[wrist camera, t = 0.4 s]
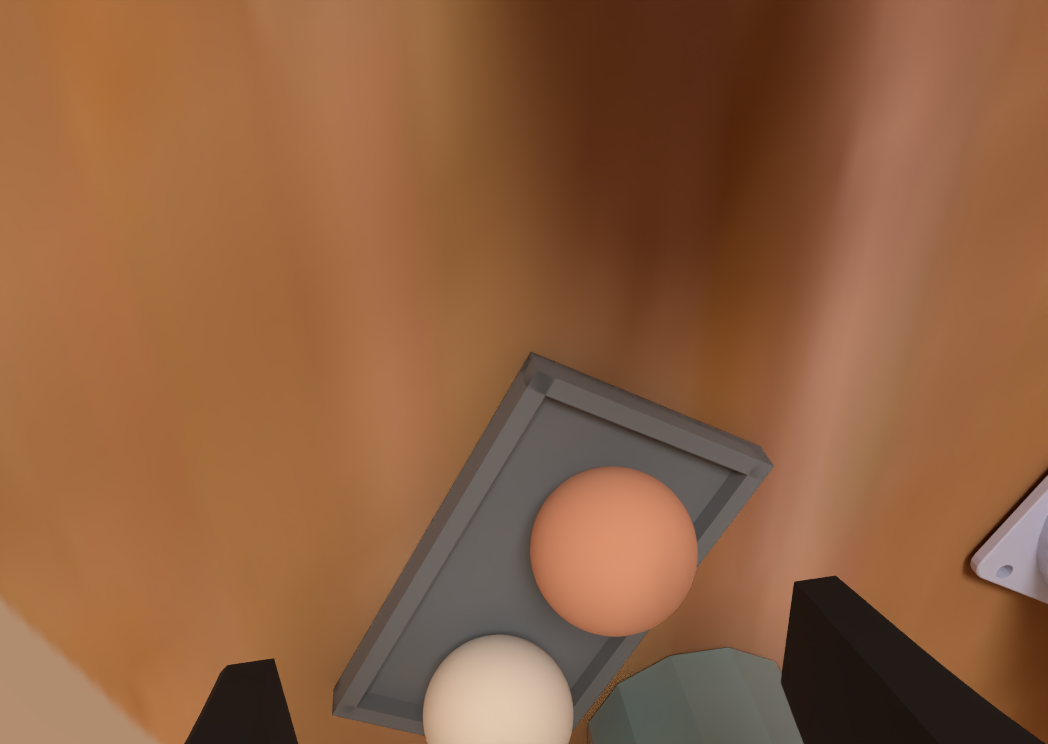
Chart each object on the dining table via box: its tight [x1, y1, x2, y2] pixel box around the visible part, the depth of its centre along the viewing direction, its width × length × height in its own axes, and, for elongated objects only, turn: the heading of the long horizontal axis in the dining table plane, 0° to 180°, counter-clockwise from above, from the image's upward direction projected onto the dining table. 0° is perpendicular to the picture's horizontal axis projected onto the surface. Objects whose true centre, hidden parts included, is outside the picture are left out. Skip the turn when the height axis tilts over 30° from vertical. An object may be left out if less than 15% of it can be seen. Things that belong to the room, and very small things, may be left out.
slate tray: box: [332, 352, 774, 736], centre depth 23 cm, size 7×12×1 cm, turn 152°
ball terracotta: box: [530, 466, 698, 637], centre depth 21 cm, size 4×4×4 cm
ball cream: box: [423, 634, 573, 744], centre depth 23 cm, size 4×4×4 cm
